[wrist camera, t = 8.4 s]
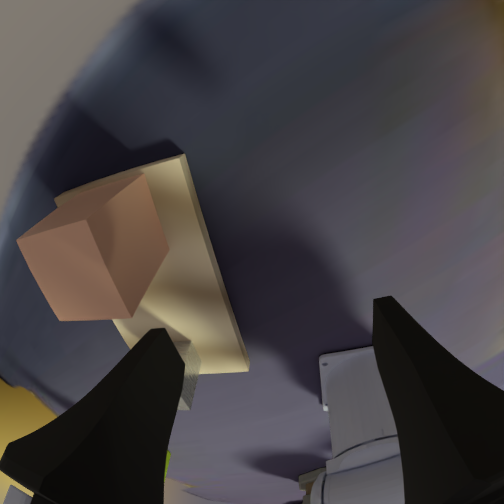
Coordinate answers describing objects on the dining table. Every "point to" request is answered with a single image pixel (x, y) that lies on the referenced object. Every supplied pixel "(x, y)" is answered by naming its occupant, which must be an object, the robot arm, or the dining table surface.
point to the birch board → (182, 273)
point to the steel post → (188, 372)
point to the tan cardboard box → (97, 251)
